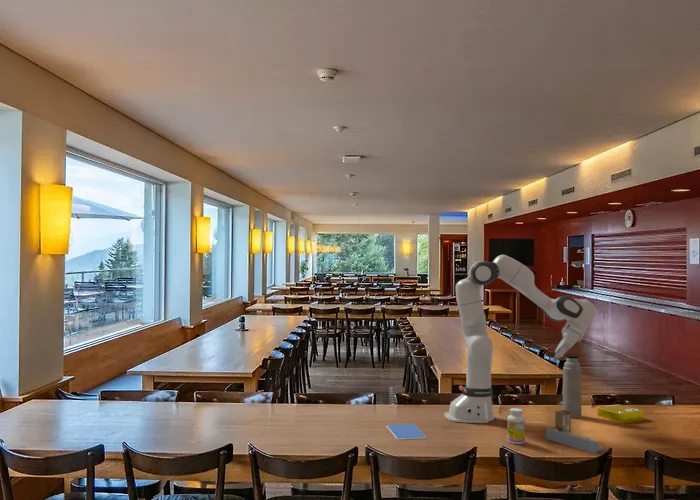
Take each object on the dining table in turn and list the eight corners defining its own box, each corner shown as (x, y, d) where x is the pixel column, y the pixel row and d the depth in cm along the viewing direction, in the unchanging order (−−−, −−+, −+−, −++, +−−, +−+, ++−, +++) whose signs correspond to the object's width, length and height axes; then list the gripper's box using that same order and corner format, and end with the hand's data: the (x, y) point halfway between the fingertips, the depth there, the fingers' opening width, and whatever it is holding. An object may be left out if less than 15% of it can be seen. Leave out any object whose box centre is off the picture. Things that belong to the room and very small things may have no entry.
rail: (595, 453, 211) (595, 440, 211) (546, 438, 228) (546, 427, 228) (604, 450, 215) (604, 437, 215) (555, 436, 232) (555, 424, 232)
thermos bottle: (561, 413, 268) (561, 354, 269) (578, 414, 267) (578, 354, 267) (565, 417, 260) (565, 356, 261) (583, 418, 259) (583, 357, 260)
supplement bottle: (504, 439, 226) (504, 407, 227) (520, 439, 227) (520, 407, 227) (510, 445, 220) (511, 411, 220) (527, 444, 220) (527, 411, 221)
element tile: (618, 413, 272) (618, 402, 272) (646, 421, 258) (646, 410, 258) (595, 415, 266) (595, 405, 266) (621, 424, 252) (621, 413, 252)
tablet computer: (427, 440, 227) (427, 436, 227) (397, 441, 224) (397, 438, 224) (413, 426, 246) (413, 423, 246) (385, 427, 243) (385, 424, 243)
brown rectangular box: (561, 441, 225) (561, 413, 226) (555, 439, 228) (555, 411, 228) (570, 439, 228) (570, 411, 229) (564, 437, 231) (564, 409, 231)
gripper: (560, 334, 262) (546, 359, 258) (571, 323, 243) (555, 349, 239) (573, 342, 260) (558, 367, 256) (585, 331, 241) (569, 358, 237)
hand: (557, 358), depth 248 cm, fingers open, 8 cm apart
